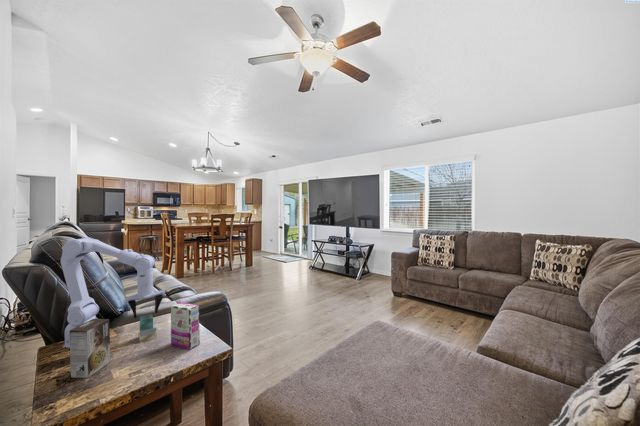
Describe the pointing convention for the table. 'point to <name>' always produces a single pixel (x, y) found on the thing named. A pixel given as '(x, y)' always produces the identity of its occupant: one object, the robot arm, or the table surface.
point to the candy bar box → (185, 325)
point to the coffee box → (89, 347)
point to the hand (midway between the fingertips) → (145, 314)
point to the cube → (146, 322)
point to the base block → (147, 337)
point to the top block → (148, 331)
